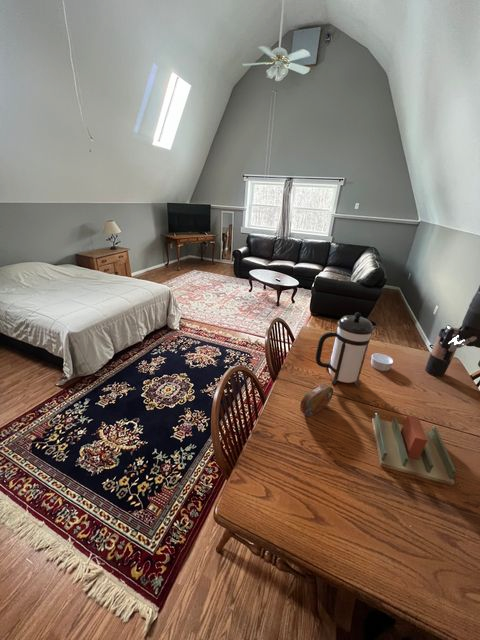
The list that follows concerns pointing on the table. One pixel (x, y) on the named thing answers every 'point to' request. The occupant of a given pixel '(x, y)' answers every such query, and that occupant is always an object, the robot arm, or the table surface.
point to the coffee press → (347, 348)
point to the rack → (395, 457)
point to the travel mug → (438, 358)
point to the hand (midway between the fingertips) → (462, 364)
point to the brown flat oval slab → (316, 399)
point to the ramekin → (381, 362)
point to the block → (413, 437)
